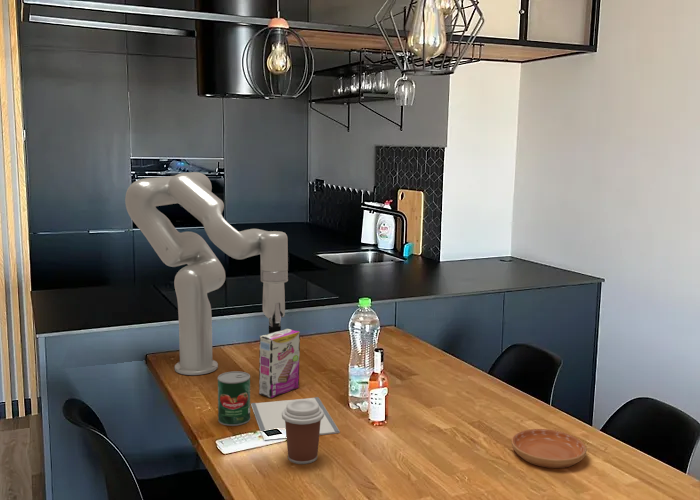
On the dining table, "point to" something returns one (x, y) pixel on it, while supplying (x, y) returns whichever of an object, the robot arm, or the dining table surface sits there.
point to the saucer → (548, 448)
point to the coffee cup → (302, 430)
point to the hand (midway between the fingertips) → (274, 339)
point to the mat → (271, 418)
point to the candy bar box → (279, 362)
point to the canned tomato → (234, 398)
